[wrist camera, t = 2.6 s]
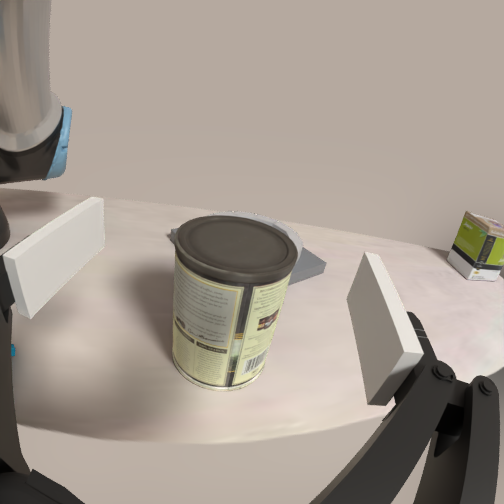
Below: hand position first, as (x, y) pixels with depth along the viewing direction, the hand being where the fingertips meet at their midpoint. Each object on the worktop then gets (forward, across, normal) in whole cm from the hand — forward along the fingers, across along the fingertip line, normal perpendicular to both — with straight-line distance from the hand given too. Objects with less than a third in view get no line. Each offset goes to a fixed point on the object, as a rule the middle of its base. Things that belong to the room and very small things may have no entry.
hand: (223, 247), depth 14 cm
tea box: (+50, +58, -19) cm, 80 cm away
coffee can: (+10, 0, -19) cm, 21 cm away
